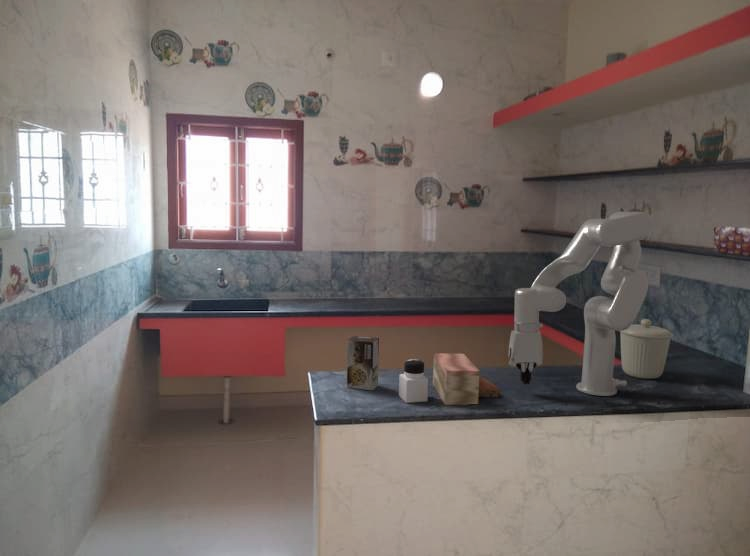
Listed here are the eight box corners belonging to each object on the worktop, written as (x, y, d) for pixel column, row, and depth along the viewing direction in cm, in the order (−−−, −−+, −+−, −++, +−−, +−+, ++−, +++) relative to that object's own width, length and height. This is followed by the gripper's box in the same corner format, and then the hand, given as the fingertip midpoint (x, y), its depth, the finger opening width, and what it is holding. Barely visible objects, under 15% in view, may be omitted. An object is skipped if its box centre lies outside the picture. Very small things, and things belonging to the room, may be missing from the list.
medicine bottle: (428, 401, 174) (429, 363, 173) (405, 403, 172) (407, 364, 171) (419, 394, 181) (421, 357, 180) (398, 395, 179) (399, 358, 178)
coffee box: (378, 385, 189) (380, 337, 187) (372, 391, 183) (374, 341, 181) (352, 382, 192) (353, 335, 190) (345, 387, 186) (347, 339, 184)
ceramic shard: (439, 372, 189) (478, 375, 195) (437, 391, 189) (476, 394, 194) (462, 378, 176) (503, 382, 181) (460, 399, 175) (501, 402, 181)
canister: (635, 383, 201) (640, 324, 198) (605, 369, 218) (609, 314, 216) (680, 381, 205) (686, 323, 202) (646, 368, 222) (651, 314, 220)
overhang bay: (461, 383, 194) (463, 353, 192) (477, 404, 173) (479, 371, 172) (432, 383, 193) (434, 353, 192) (445, 404, 172) (446, 370, 171)
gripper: (544, 323, 187) (543, 378, 189) (499, 325, 185) (499, 380, 188) (553, 328, 179) (552, 385, 181) (507, 330, 178) (506, 387, 180)
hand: (525, 382), depth 185 cm, fingers closed
